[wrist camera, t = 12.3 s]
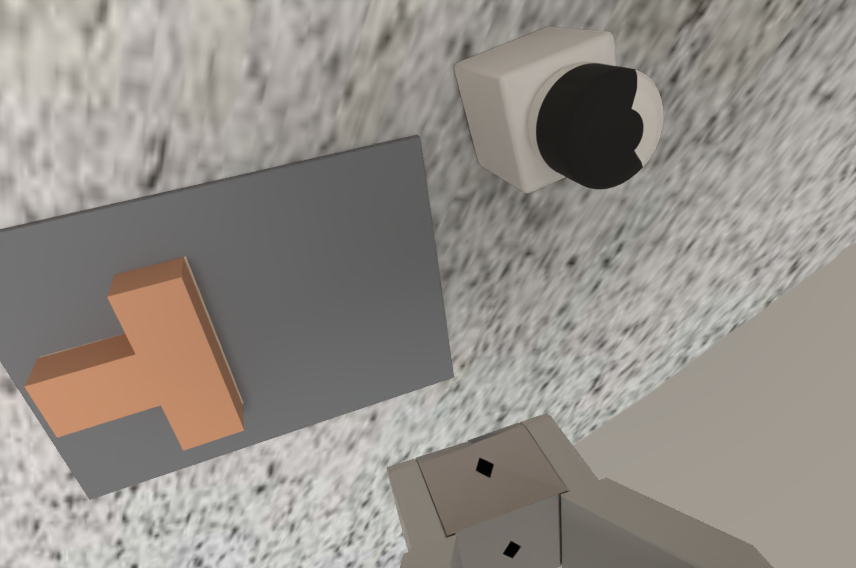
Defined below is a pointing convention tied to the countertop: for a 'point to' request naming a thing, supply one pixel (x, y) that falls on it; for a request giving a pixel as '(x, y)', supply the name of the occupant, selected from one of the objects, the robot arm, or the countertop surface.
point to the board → (245, 298)
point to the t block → (145, 364)
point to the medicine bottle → (559, 110)
